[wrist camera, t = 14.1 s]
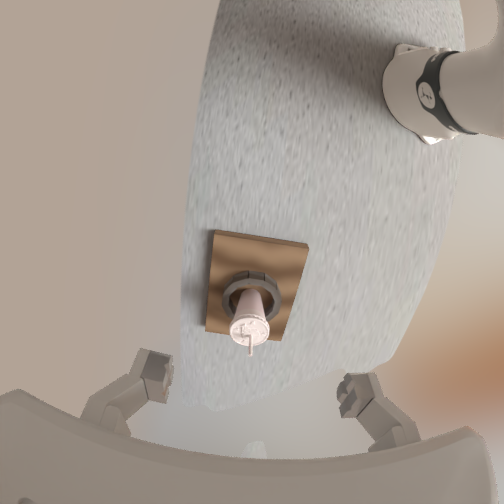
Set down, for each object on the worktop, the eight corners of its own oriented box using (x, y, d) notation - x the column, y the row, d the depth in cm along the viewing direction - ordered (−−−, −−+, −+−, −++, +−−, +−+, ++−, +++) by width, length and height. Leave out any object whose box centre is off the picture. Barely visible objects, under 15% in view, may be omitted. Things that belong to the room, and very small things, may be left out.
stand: (215, 229, 46) (211, 240, 42) (307, 243, 47) (311, 256, 43) (206, 324, 56) (203, 339, 52) (280, 334, 57) (281, 349, 53)
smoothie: (244, 314, 52) (241, 371, 40) (226, 291, 50) (217, 346, 37) (274, 301, 50) (278, 358, 38) (257, 276, 48) (256, 332, 35)
